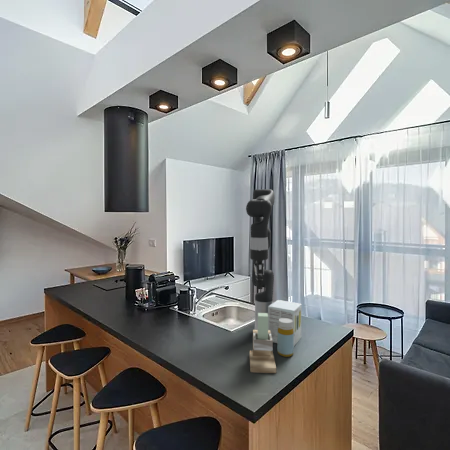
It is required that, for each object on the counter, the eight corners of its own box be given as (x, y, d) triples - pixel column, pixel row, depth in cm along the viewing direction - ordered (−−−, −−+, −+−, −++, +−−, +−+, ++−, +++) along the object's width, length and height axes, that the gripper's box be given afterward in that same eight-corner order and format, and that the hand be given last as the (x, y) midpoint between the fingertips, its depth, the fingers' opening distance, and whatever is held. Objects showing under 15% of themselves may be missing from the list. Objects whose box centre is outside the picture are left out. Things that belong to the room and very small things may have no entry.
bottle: (274, 353, 128) (274, 320, 127) (283, 348, 133) (283, 316, 132) (287, 359, 123) (288, 324, 122) (296, 353, 128) (296, 320, 127)
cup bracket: (249, 355, 126) (249, 328, 126) (272, 355, 126) (272, 328, 125) (250, 372, 112) (250, 341, 112) (276, 373, 112) (276, 342, 111)
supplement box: (293, 347, 133) (294, 310, 133) (267, 341, 140) (267, 306, 140) (301, 337, 145) (302, 303, 144) (277, 332, 152) (277, 299, 151)
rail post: (257, 341, 119) (257, 312, 119) (267, 341, 119) (267, 313, 119) (257, 345, 115) (258, 316, 115) (267, 346, 115) (268, 316, 115)
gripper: (249, 245, 127) (249, 281, 128) (250, 250, 113) (250, 290, 114) (266, 245, 127) (266, 282, 128) (269, 250, 113) (269, 291, 113)
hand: (259, 286), depth 121 cm, fingers open, 8 cm apart
